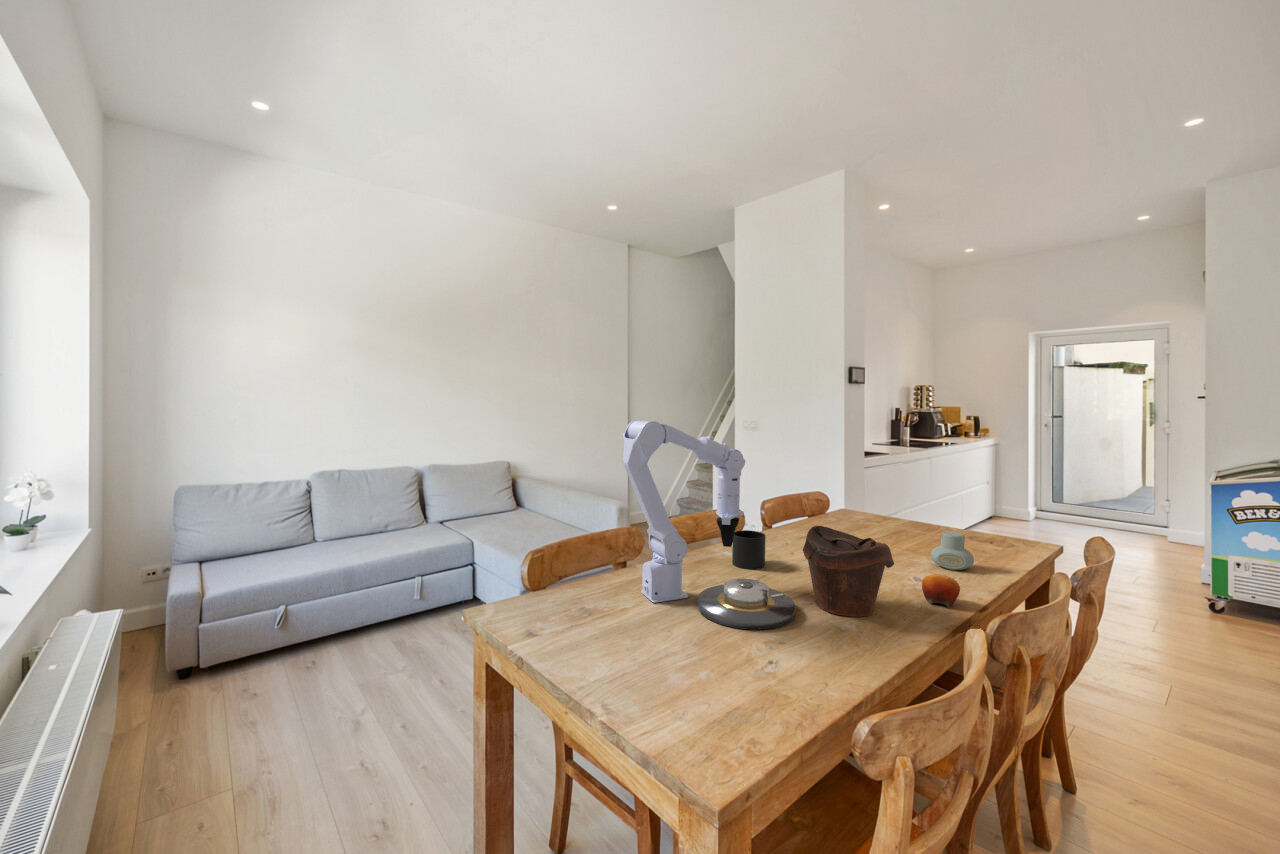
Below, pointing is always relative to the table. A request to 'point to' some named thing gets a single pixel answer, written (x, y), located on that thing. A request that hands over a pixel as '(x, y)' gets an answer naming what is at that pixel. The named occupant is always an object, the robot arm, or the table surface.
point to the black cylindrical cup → (748, 549)
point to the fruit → (940, 589)
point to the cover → (746, 594)
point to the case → (845, 570)
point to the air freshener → (952, 552)
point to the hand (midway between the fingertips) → (727, 546)
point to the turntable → (746, 610)
